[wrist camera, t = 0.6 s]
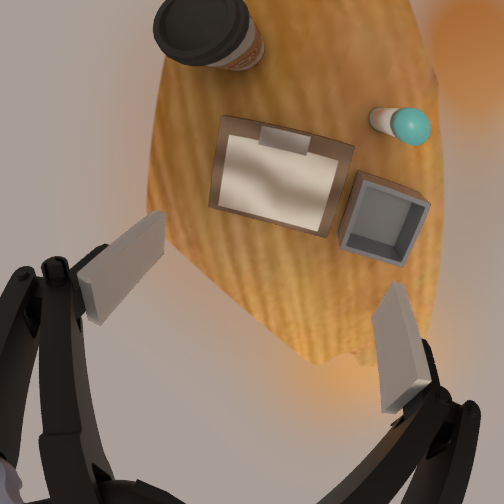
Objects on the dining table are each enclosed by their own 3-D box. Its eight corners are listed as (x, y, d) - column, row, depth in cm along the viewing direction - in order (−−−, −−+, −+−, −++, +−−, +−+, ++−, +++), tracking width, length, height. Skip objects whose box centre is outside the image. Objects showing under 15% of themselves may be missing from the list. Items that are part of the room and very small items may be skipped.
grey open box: (357, 169, 33) (363, 179, 29) (418, 191, 32) (431, 204, 28) (337, 231, 38) (339, 248, 34) (395, 249, 37) (403, 267, 33)
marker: (371, 103, 28) (401, 102, 17) (394, 112, 28) (434, 116, 17) (365, 126, 30) (391, 137, 19) (388, 135, 30) (424, 151, 19)
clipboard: (224, 115, 33) (219, 116, 32) (353, 145, 32) (355, 147, 30) (211, 204, 40) (206, 209, 38) (326, 234, 39) (326, 241, 37)
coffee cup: (231, 90, 32) (178, 82, 19) (198, 45, 29) (132, 23, 16) (286, 56, 28) (264, 22, 15) (249, 11, 25) (207, -36, 13)
